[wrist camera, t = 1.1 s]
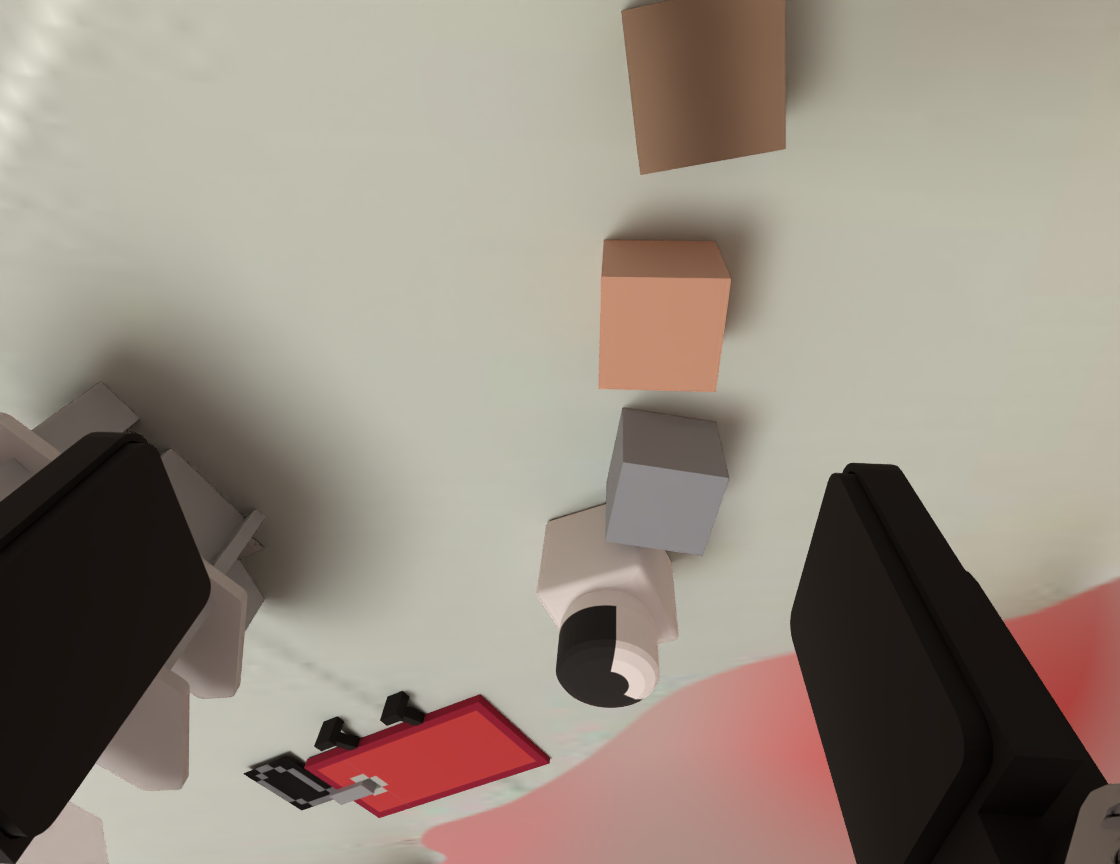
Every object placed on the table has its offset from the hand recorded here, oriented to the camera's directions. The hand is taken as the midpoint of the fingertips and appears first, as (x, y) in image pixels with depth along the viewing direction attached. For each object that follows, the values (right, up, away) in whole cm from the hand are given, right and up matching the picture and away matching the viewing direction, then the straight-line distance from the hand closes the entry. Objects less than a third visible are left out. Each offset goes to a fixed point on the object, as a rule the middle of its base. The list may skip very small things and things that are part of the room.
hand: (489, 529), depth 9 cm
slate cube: (+8, 0, +33) cm, 34 cm away
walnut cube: (+7, +18, +21) cm, 29 cm away
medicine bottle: (+5, -7, +38) cm, 39 cm away
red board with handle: (-17, -31, +56) cm, 66 cm away
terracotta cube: (+6, +9, +27) cm, 30 cm away
